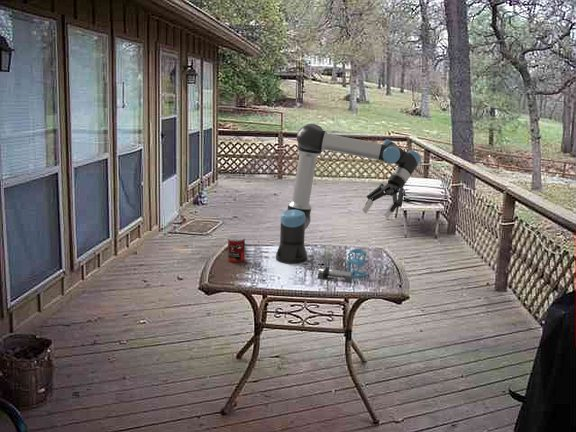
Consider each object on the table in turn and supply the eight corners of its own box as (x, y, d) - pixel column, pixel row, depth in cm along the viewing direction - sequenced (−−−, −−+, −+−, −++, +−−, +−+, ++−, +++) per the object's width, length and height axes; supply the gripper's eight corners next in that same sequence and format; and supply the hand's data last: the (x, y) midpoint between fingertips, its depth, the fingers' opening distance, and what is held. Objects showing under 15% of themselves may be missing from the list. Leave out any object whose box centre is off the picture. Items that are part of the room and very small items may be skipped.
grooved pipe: (317, 278, 272) (318, 267, 271) (320, 275, 277) (320, 265, 276) (350, 282, 268) (350, 271, 267) (351, 279, 273) (352, 268, 272)
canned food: (224, 261, 293) (225, 238, 291) (232, 257, 300) (233, 235, 298) (239, 263, 290) (240, 240, 288) (247, 259, 297) (247, 237, 295)
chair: (343, 276, 277) (344, 250, 275) (353, 272, 284) (355, 246, 281) (358, 280, 272) (359, 253, 270) (368, 275, 279) (369, 250, 276)
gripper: (422, 188, 284) (399, 223, 278) (382, 180, 303) (359, 214, 297) (416, 177, 280) (391, 213, 274) (375, 170, 299) (351, 204, 293)
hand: (374, 214), depth 285 cm, fingers open, 13 cm apart
